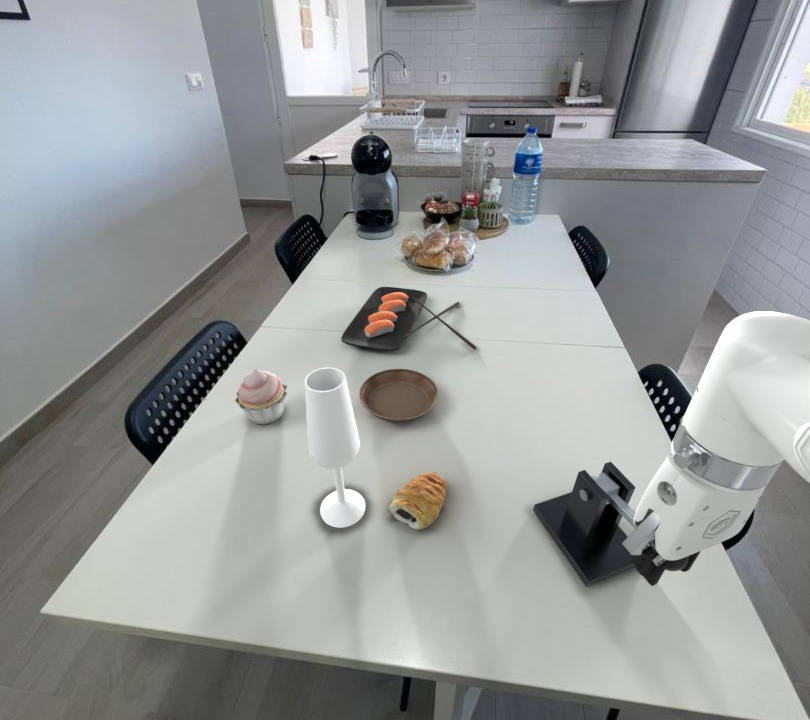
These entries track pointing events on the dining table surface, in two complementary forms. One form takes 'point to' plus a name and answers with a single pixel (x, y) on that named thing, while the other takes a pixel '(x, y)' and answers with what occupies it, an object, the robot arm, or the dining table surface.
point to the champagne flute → (333, 441)
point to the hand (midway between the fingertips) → (659, 565)
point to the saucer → (398, 394)
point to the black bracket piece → (589, 526)
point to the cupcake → (262, 396)
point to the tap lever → (629, 512)
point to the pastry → (419, 501)
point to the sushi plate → (390, 319)
